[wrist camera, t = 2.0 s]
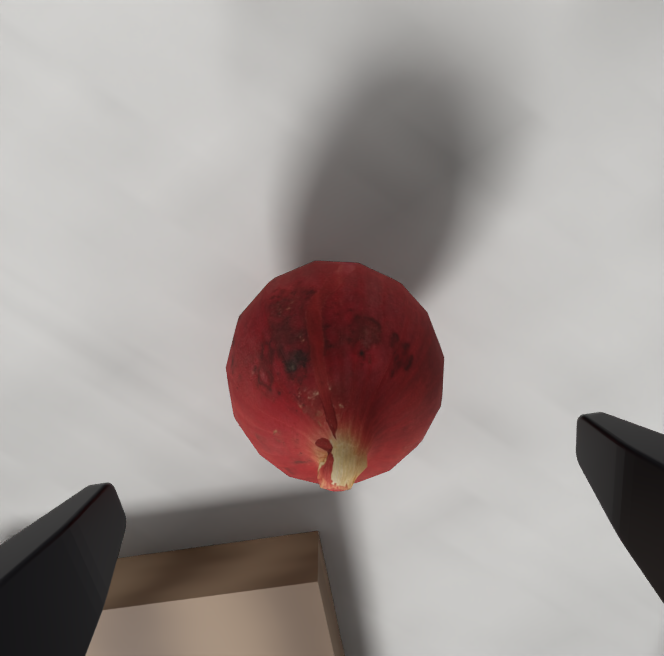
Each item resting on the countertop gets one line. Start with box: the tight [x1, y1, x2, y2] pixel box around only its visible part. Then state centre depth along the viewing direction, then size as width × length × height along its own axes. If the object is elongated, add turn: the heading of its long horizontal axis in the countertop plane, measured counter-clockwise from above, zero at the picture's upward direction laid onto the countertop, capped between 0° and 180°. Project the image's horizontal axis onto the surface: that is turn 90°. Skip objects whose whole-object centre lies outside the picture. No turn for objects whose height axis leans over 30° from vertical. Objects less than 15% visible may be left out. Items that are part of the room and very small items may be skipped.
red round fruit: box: [226, 261, 444, 491], centre depth 13 cm, size 6×6×8 cm
